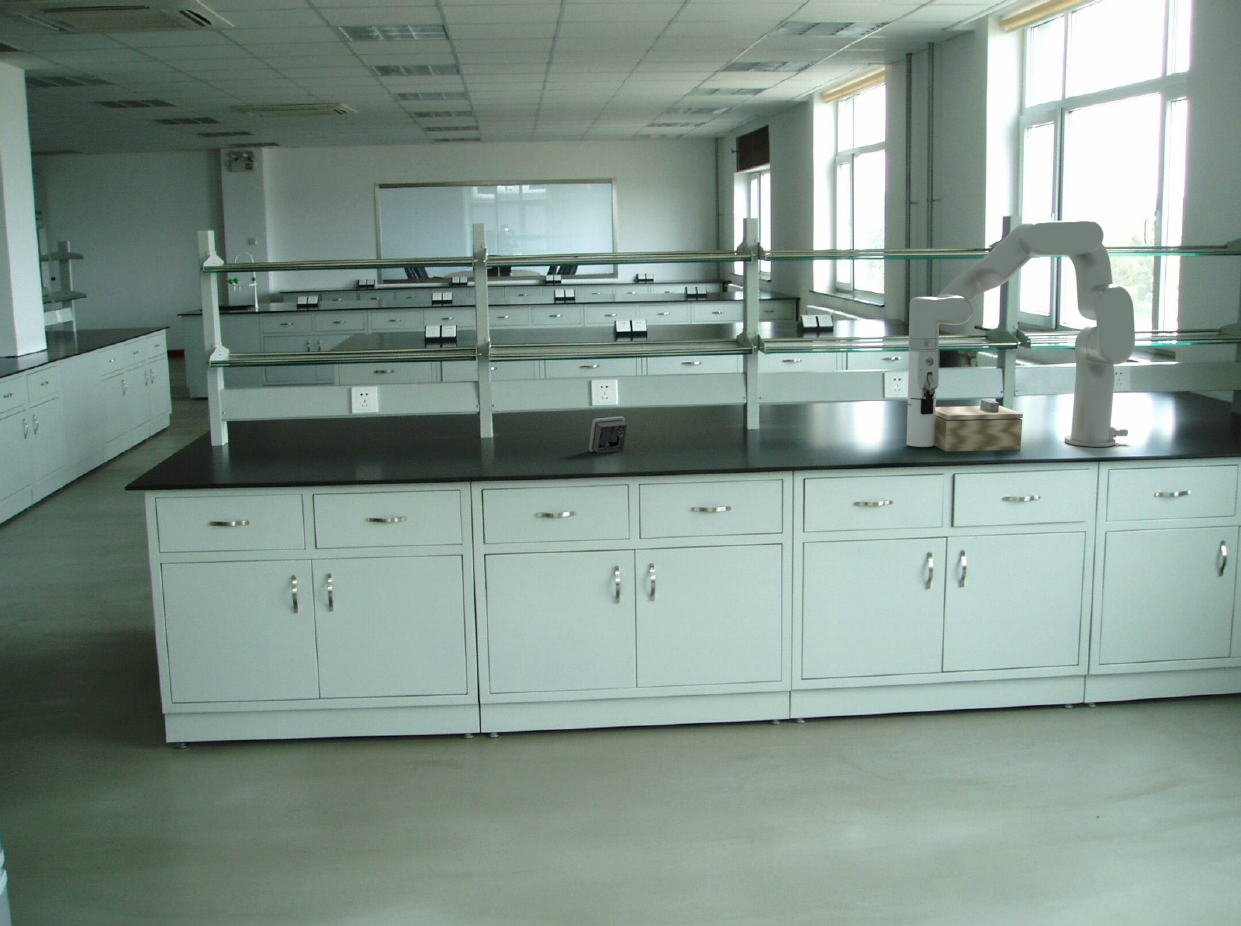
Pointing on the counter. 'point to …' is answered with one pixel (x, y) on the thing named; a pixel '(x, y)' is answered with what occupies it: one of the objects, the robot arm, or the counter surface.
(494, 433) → the counter surface
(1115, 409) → the counter surface
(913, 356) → the cylindrical container
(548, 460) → the counter surface
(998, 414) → the lid
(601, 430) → the electrical switch
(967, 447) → the wooden box
